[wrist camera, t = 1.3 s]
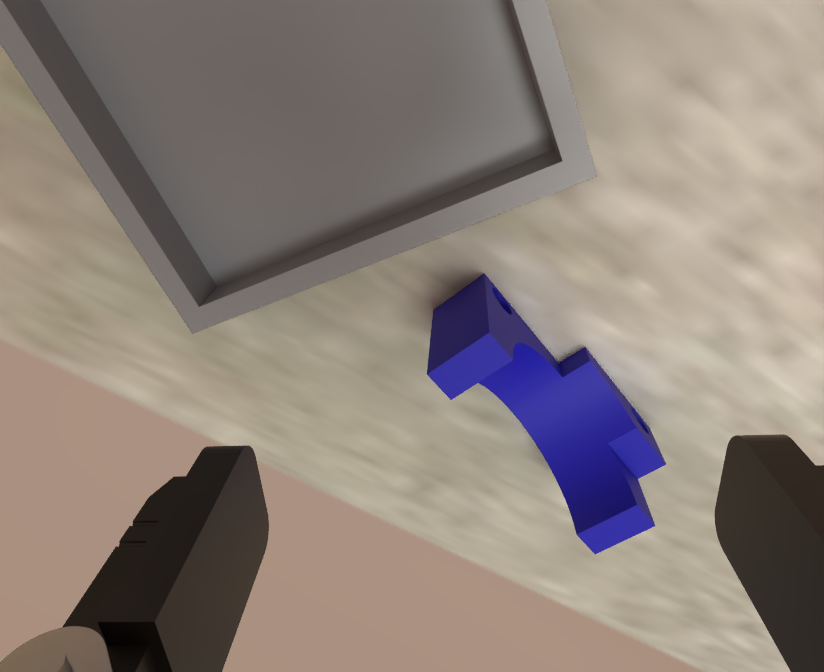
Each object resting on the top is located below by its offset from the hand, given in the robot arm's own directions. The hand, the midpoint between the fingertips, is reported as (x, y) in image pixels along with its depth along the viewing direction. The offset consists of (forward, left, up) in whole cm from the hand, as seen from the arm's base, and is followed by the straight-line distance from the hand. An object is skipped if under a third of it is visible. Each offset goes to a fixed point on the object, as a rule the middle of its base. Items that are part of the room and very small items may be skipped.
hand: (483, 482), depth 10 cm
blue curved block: (0, +9, -18) cm, 20 cm away
